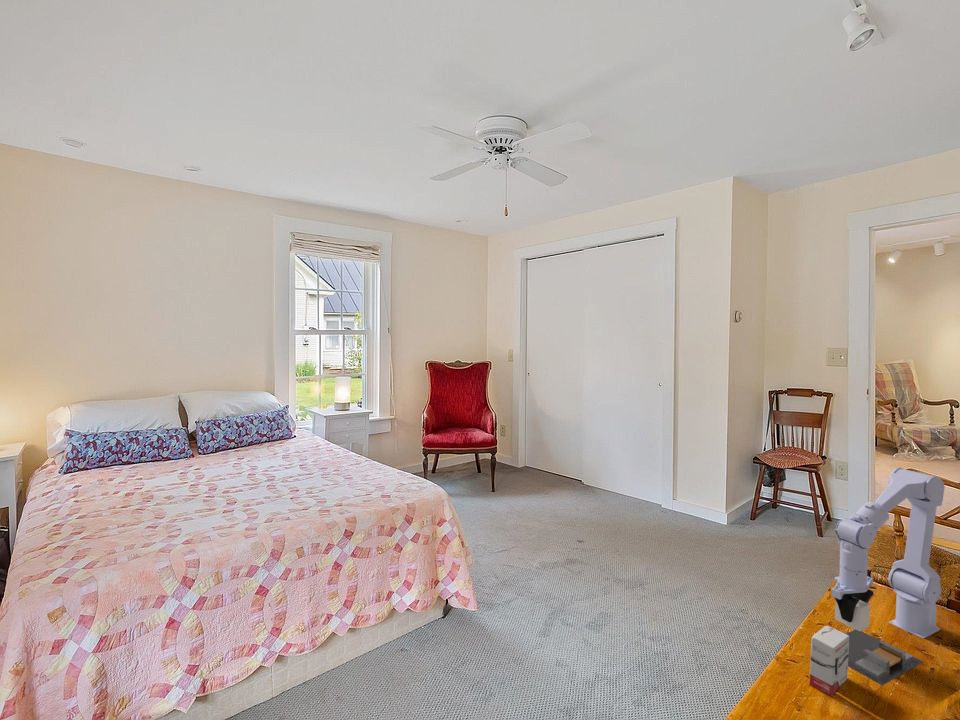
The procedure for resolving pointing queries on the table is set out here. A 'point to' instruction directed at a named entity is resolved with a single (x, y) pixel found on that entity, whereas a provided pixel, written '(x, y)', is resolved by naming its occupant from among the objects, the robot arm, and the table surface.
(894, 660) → the block
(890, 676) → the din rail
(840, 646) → the ink box
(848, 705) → the table surface
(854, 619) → the block
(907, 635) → the table surface
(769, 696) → the table surface
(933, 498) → the robot arm
